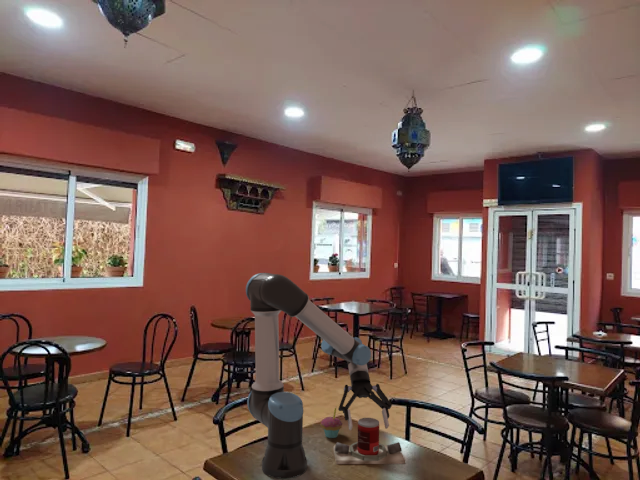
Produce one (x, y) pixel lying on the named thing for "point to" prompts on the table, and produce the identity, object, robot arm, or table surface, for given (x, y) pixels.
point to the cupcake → (331, 426)
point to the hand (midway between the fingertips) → (369, 427)
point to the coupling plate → (384, 456)
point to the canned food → (368, 436)
